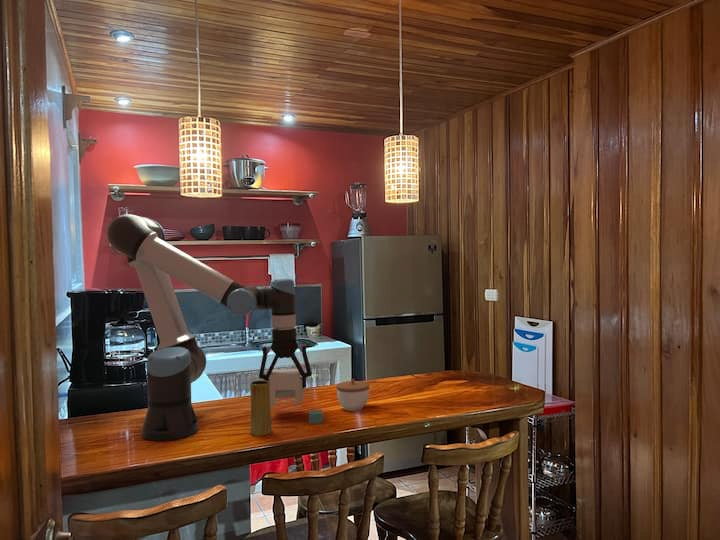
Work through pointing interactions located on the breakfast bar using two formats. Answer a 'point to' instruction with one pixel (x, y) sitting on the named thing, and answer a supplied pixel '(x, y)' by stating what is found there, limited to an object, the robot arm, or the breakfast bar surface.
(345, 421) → the breakfast bar surface
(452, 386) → the breakfast bar surface
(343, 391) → the lidded jar
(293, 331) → the robot arm
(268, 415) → the vase
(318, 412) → the teal block
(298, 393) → the notched white block
